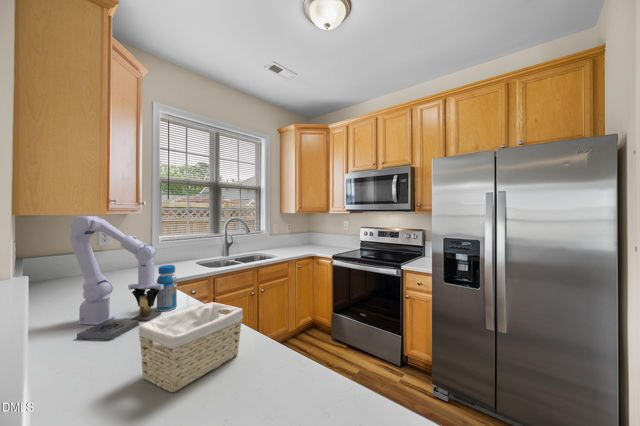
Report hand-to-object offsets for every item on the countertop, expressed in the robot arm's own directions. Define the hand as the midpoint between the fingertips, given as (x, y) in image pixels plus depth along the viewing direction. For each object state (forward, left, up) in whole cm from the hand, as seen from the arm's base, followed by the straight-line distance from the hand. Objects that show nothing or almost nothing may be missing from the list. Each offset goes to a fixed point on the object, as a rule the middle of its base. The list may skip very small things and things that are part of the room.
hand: (146, 306), depth 115 cm
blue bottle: (+2, +11, -5) cm, 12 cm away
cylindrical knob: (0, 0, -3) cm, 3 cm away
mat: (0, 0, -5) cm, 5 cm away
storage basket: (+41, -35, -5) cm, 54 cm away
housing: (-4, -15, -5) cm, 16 cm away
